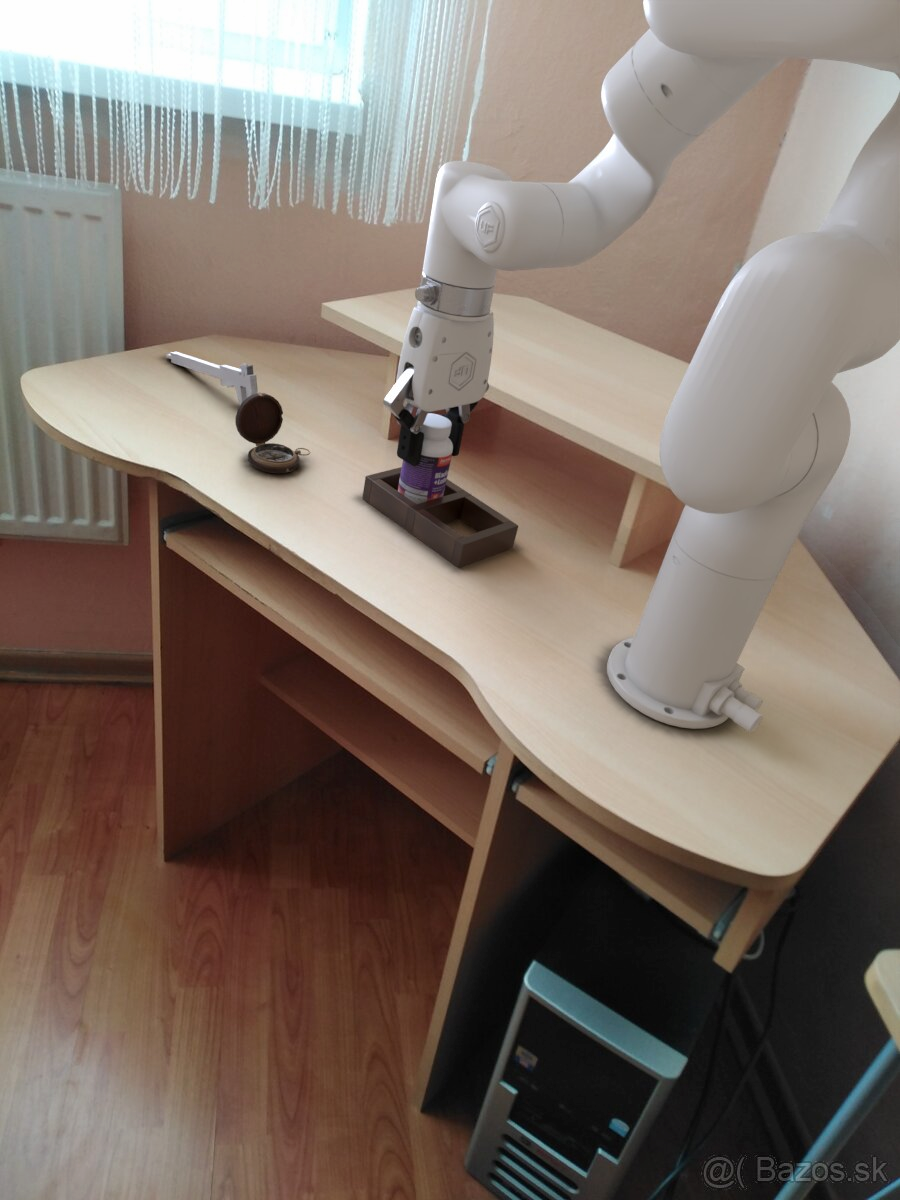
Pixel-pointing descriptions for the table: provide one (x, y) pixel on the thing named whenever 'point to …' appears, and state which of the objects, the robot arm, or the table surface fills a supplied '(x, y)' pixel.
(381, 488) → the tray
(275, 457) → the compass
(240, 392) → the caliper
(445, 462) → the pill bottle
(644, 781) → the table surface
